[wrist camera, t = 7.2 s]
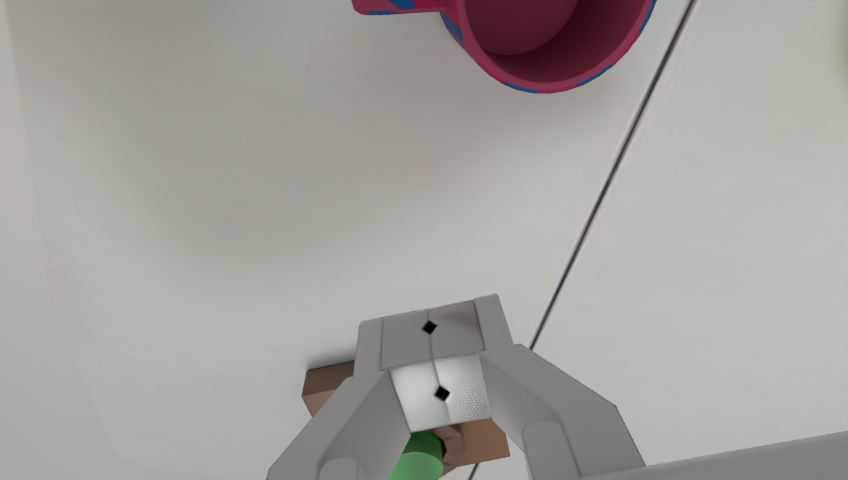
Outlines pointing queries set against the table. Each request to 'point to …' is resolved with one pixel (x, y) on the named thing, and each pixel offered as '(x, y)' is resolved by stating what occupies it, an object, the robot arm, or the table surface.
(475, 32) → the mug
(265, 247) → the table surface
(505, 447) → the switch block
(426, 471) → the lamp button
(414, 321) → the robot arm
